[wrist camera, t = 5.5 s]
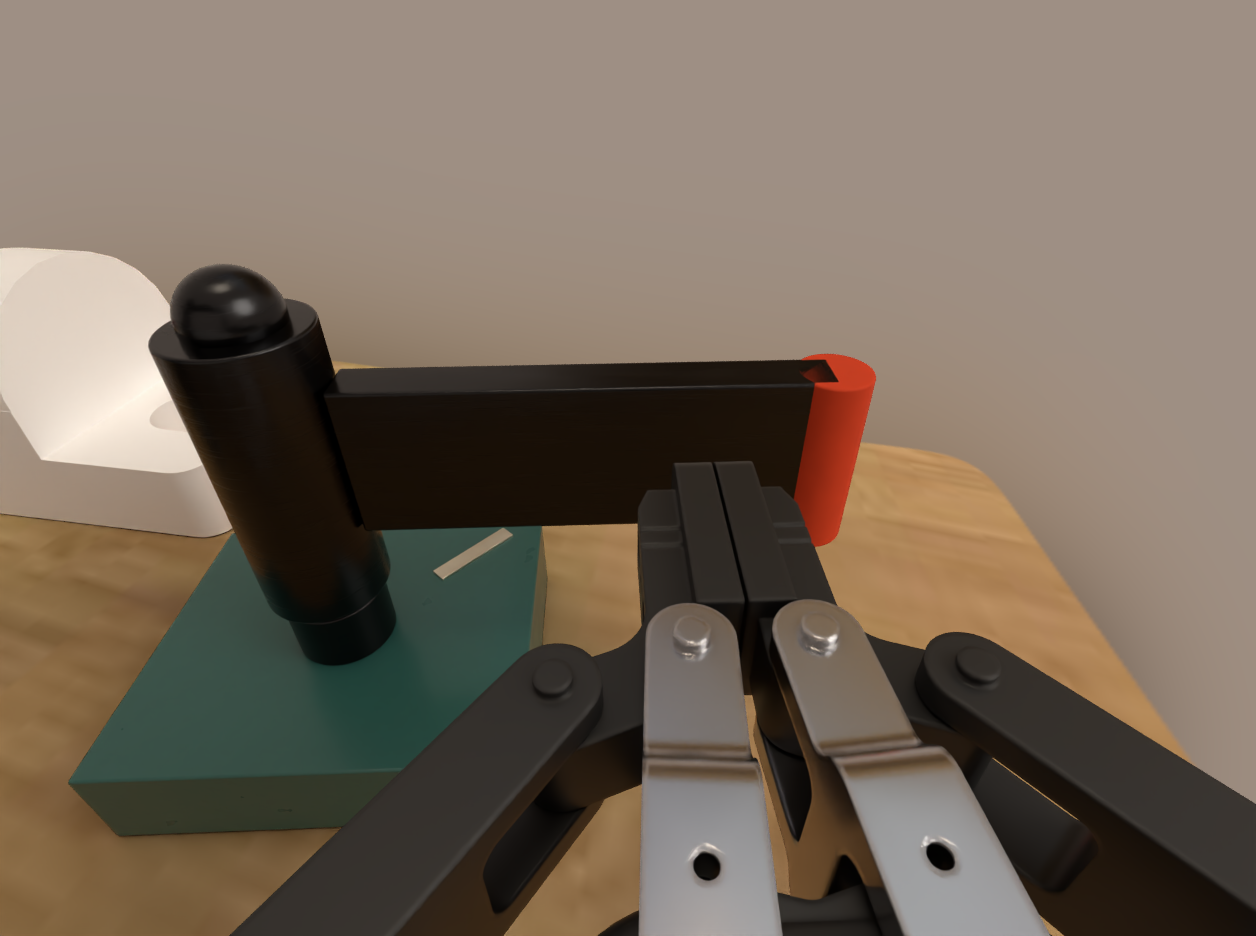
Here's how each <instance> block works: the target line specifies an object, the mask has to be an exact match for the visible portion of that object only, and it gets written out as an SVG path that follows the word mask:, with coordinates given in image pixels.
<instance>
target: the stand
mask: <svg viewBox="0 0 1256 936" xmlns="http://www.w3.org/2000/svg"><path fill="white" fill-rule="evenodd" d="M381 531H382V534H383V538H384V541H385V545H386V548H387V551H388V555H389V558H390V563H391V569H390V574H389V577H388V580H387V582H386V584H385V585H384V587H383V588H382V590H381V591H380V592H379V593H378V594H377V595H376V596H375V597H374V598H373V599H372V600H371V601H370V602H368V603H367V604H366V605H364V606H363V607H361V608H360V609H358V610H356V611H354V612H353V613H350V614H348V615H346V616H344V617H341V618H338V619H335V620H331V621H327V622H321V623H296V622H292V621H288V620H286V619H284V618H282V617H280V616H278V615H277V614H276V613H274V612H273V611H272V609H271V608H270V606H269V605H268V603H267V600H266V598H265V596H264V594H263V592H262V590H261V588H260V586H259V583H258V581H257V579H256V577H255V575H254V573H253V571H252V568H251V566H250V564H249V562H248V560H247V558H246V556H245V554H244V551H243V549H242V547H241V545H240V543H239V541H238V539H237V537H236V534H235V533H233V534H231V536H230V537H229V539H228V541H227V542H226V544H225V545H224V547H223V548H222V550H221V551H220V553H219V554H218V556H217V557H216V559H215V560H214V562H213V563H212V565H211V566H210V568H209V569H208V571H207V572H206V574H205V575H204V577H203V578H202V580H201V581H200V583H199V584H198V586H197V587H196V589H195V590H194V592H193V593H192V595H191V596H190V598H189V599H188V601H187V603H186V604H185V606H184V607H183V609H182V610H181V612H180V613H179V615H178V616H177V618H176V619H175V621H174V622H173V624H172V625H171V627H170V628H169V630H168V631H167V633H166V634H165V636H164V637H163V639H162V640H161V642H160V643H159V645H158V646H157V648H156V649H155V651H154V652H153V654H152V655H151V657H150V658H149V660H148V662H147V663H146V665H145V666H144V668H143V669H142V671H141V672H140V674H139V675H138V677H137V678H136V680H135V681H134V683H133V684H132V686H131V687H130V689H129V690H128V692H127V693H126V695H125V696H124V698H123V699H122V701H121V702H120V704H119V705H118V707H117V708H116V710H115V711H114V713H113V714H112V716H111V717H110V719H109V720H108V722H107V724H106V725H105V727H104V728H103V730H102V731H101V733H100V734H99V736H98V737H97V739H96V740H95V742H94V743H93V745H92V746H91V748H90V749H89V751H88V752H87V754H86V755H85V757H84V758H83V760H82V761H81V763H80V764H79V766H78V767H77V769H76V770H75V772H74V773H73V775H72V776H71V778H70V779H69V782H68V784H69V785H70V786H71V787H72V788H73V789H74V790H75V791H76V792H77V793H78V794H79V796H80V797H81V798H82V799H83V800H84V801H85V802H86V803H87V804H88V805H89V806H90V807H91V808H92V809H93V810H94V811H95V812H96V813H97V814H98V816H99V817H100V818H101V819H102V820H103V821H104V822H105V823H106V824H107V825H108V826H109V827H110V828H111V829H112V830H113V831H114V832H115V833H116V834H117V835H118V836H124V835H149V834H174V833H199V832H224V831H250V830H275V829H300V828H325V827H343V826H344V825H345V824H346V823H347V822H348V821H349V820H350V819H351V818H353V817H354V816H355V815H356V814H357V813H358V812H359V811H360V810H361V809H362V808H363V807H364V806H365V805H366V804H367V803H368V802H369V801H370V800H371V799H372V798H373V797H374V796H375V795H377V794H378V793H379V792H380V791H381V790H382V789H383V788H384V787H385V786H386V785H387V784H388V783H389V782H390V781H391V780H392V779H393V778H394V777H395V776H396V775H397V774H398V773H399V772H400V771H402V770H403V769H404V768H405V767H406V766H407V765H408V764H409V763H410V762H411V761H412V760H413V759H414V758H415V757H416V756H417V755H418V754H419V753H420V752H421V751H422V750H423V749H424V748H426V747H427V746H428V745H429V744H430V743H431V742H432V741H433V740H434V739H435V738H436V737H437V736H438V735H439V734H440V733H441V732H442V731H443V730H444V729H445V728H446V727H447V726H448V725H450V724H451V723H452V722H453V721H454V720H455V719H456V718H457V717H458V716H459V715H460V714H461V713H462V712H463V711H464V710H465V709H466V708H467V707H468V706H469V705H470V704H471V703H472V702H474V701H475V700H476V699H477V698H478V697H479V696H480V695H481V694H482V693H483V692H484V691H485V690H486V689H487V688H488V687H489V686H490V685H491V684H492V683H493V682H494V681H495V680H496V679H498V678H499V677H500V676H501V675H502V674H503V673H504V672H505V671H506V670H507V669H508V668H509V667H510V666H511V665H512V664H513V663H514V662H515V661H516V660H517V659H518V658H520V657H521V656H522V655H523V654H525V653H527V652H528V651H530V650H532V649H534V648H537V647H539V646H542V637H543V625H544V613H545V601H546V589H547V570H546V560H545V551H544V541H543V532H542V526H528V527H491V528H454V529H417V530H381Z"/></svg>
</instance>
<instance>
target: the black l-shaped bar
mask: <svg viewBox="0 0 1256 936" xmlns="http://www.w3.org/2000/svg"><path fill="white" fill-rule="evenodd" d="M170 319H171V321H169V322H167V323H165V324H164V325H162V326H161V327H160V328H158V329H157V330H156V331H155V332H154V333H153V334H152V335H151V337H150V339H149V343H148V348H149V351H150V354H151V356H152V358H153V360H154V362H155V364H156V366H157V368H158V371H159V373H160V375H161V377H162V379H163V381H164V383H165V385H166V388H167V390H168V392H169V394H170V396H171V398H172V400H173V403H174V405H175V407H176V409H177V411H178V413H179V415H180V417H181V420H182V422H183V424H184V426H185V428H186V430H187V432H188V434H189V437H190V439H191V441H192V443H193V445H194V447H195V449H196V451H197V454H198V456H199V458H200V460H201V462H202V464H203V466H204V468H205V471H206V473H207V475H208V477H209V479H210V481H211V483H212V485H213V488H214V490H215V492H216V494H217V496H218V498H219V500H220V503H221V505H222V507H223V509H224V511H225V513H226V515H227V517H228V520H229V522H230V524H231V526H232V528H233V530H234V532H235V534H236V537H237V539H238V541H239V543H240V545H241V547H242V549H243V551H244V554H245V556H246V558H247V560H248V562H249V564H250V566H251V568H252V571H253V573H254V575H255V577H256V579H257V581H258V583H259V586H260V588H261V590H262V592H263V594H264V596H265V598H266V600H267V603H268V605H269V606H270V608H271V609H272V611H273V612H274V613H276V614H277V615H278V616H280V617H282V618H284V619H286V620H288V621H292V622H296V623H321V622H327V621H331V620H335V619H338V618H341V617H344V616H346V615H348V614H350V613H353V612H354V611H356V610H358V609H360V608H361V607H363V606H364V605H366V604H367V603H368V602H370V601H371V600H372V599H373V598H374V597H375V596H376V595H377V594H378V593H379V592H380V591H381V590H382V588H383V587H384V585H385V584H386V582H387V580H388V577H389V574H390V569H391V563H390V558H389V555H388V551H387V548H386V545H385V541H384V538H383V534H382V531H381V530H417V529H454V528H491V527H528V526H565V525H602V524H638V507H639V505H640V503H641V501H642V499H643V497H644V496H645V494H646V492H647V490H669V489H671V483H672V466H673V463H699V462H711V463H712V464H713V462H732V461H752V462H753V464H754V467H755V470H756V473H757V476H758V479H759V483H760V486H761V487H775V486H780V487H781V488H782V489H783V490H784V491H785V492H786V493H788V494H789V495H790V496H791V497H792V498H793V499H794V500H795V501H796V502H797V503H798V505H799V508H800V511H801V513H802V516H803V518H804V521H805V527H807V529H808V531H809V534H810V537H811V542H812V543H813V545H814V547H817V546H822V545H825V544H828V543H830V542H831V541H832V540H834V539H835V537H836V536H837V534H838V532H839V528H840V524H841V520H842V515H843V511H844V507H845V503H846V499H847V495H848V491H849V487H850V483H851V479H852V475H853V471H854V467H855V463H856V459H857V455H858V450H859V446H860V442H861V438H862V434H863V430H864V426H865V422H866V418H867V414H868V410H869V406H870V402H871V398H872V393H873V390H874V385H875V381H876V376H875V372H874V371H873V369H872V368H870V366H868V365H867V364H865V363H864V362H862V361H859V360H857V359H854V358H851V357H847V356H842V355H836V354H817V355H811V356H808V357H806V358H803V359H802V360H768V361H767V360H765V361H717V362H716V361H715V362H669V363H668V362H664V363H617V364H616V363H614V364H569V365H568V364H567V365H566V364H564V365H519V366H518V365H514V366H466V367H415V368H363V369H340V370H339V371H338V373H337V374H336V375H335V372H334V368H333V365H332V362H331V358H330V355H329V352H328V348H327V345H326V341H325V338H324V335H323V331H322V328H321V324H320V321H319V318H318V315H317V312H316V311H315V310H314V309H313V308H312V307H311V306H309V305H308V304H305V303H303V302H300V301H296V300H291V299H284V298H283V297H282V295H281V294H280V292H279V291H278V290H277V288H276V287H275V286H274V285H273V284H272V283H271V282H270V281H268V280H267V279H266V278H265V277H263V276H262V275H260V274H258V273H257V272H254V271H252V270H250V269H248V268H245V267H241V266H237V265H232V264H215V265H209V266H205V267H202V268H199V269H197V270H195V271H193V272H192V273H190V274H189V275H187V276H186V277H185V278H184V279H183V280H182V281H181V282H180V283H179V285H178V286H177V287H176V289H175V291H174V293H173V296H172V299H171V303H170Z"/></svg>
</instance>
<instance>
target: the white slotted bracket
mask: <svg viewBox="0 0 1256 936" xmlns="http://www.w3.org/2000/svg"><path fill="white" fill-rule="evenodd" d="M169 321H171V319H170V305H169V304H168V303H167V301H166V300H165V299H164V297H163V296H162V294H161V293H160V292H159V290H158V289H157V287H156V286H155V285H154V284H153V283H152V282H151V281H149V280H148V279H147V278H146V277H145V276H144V275H143V274H141V273H140V272H139V271H138V270H137V269H135V268H133V267H132V266H130V265H128V264H126V263H124V262H122V261H120V260H118V259H116V258H114V257H111V256H106V255H102V254H97V253H93V252H88V251H71V250H54V249H35V248H3V249H0V513H1V514H10V515H18V516H26V517H35V518H43V519H51V520H60V521H68V522H76V523H85V524H93V525H101V526H110V527H118V528H126V529H135V530H143V531H151V532H160V533H168V534H176V535H184V536H193V537H211V536H215V535H219V534H222V533H224V532H227V531H229V530H230V529H232V526H231V524H230V522H229V520H228V517H227V515H226V513H225V511H224V509H223V507H222V505H221V503H220V500H219V498H218V496H217V494H216V492H215V490H214V488H213V485H212V483H211V481H210V479H209V477H208V475H207V473H206V471H205V468H204V466H203V464H202V462H201V460H200V458H199V456H198V454H197V451H196V449H195V447H194V445H193V443H192V441H191V439H190V437H189V434H188V432H187V430H186V428H185V426H184V424H183V422H182V420H181V417H180V415H179V413H178V411H177V409H176V407H175V405H174V403H173V400H172V398H171V396H170V394H169V392H168V390H167V388H166V385H165V383H164V381H163V379H162V377H161V375H160V373H159V371H158V368H157V366H156V364H155V362H154V360H153V358H152V356H151V354H150V351H149V348H148V343H149V339H150V337H151V335H152V334H153V333H154V332H155V331H156V330H157V329H158V328H160V327H161V326H162V325H164V324H165V323H167V322H169Z"/></svg>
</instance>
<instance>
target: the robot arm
mask: <svg viewBox="0 0 1256 936" xmlns="http://www.w3.org/2000/svg"><path fill="white" fill-rule="evenodd" d="M638 579H639V593H640V608H641V623H642V626H641V628H640V630H639V631H638V633H637V634H636V635H635V636H634V637H633V638H632V639H631V640H630V641H628V642H627V643H626V644H624V645H622V646H621V647H619V648H617V649H614V650H612V651H609V652H606V653H603V654H600V655H597V656H594V657H592V656H591V655H590V654H588V653H587V652H585V651H584V650H582V649H580V648H578V647H575V646H572V645H568V644H547V645H543V646H539V647H537V648H534V649H532V650H530V651H528V652H527V653H525V654H523V655H522V656H521V657H520V658H518V659H517V660H516V661H515V662H514V663H513V664H512V665H511V666H510V667H509V668H508V669H507V670H506V671H505V672H504V673H503V674H502V675H501V676H500V677H499V678H498V679H496V680H495V681H494V682H493V683H492V684H491V685H490V686H489V687H488V688H487V689H486V690H485V691H484V692H483V693H482V694H481V695H480V696H479V697H478V698H477V699H476V700H475V701H474V702H472V703H471V704H470V705H469V706H468V707H467V708H466V709H465V710H464V711H463V712H462V713H461V714H460V715H459V716H458V717H457V718H456V719H455V720H454V721H453V722H452V723H451V724H450V725H448V726H447V727H446V728H445V729H444V730H443V731H442V732H441V733H440V734H439V735H438V736H437V737H436V738H435V739H434V740H433V741H432V742H431V743H430V744H429V745H428V746H427V747H426V748H424V749H423V750H422V751H421V752H420V753H419V754H418V755H417V756H416V757H415V758H414V759H413V760H412V761H411V762H410V763H409V764H408V765H407V766H406V767H405V768H404V769H403V770H402V771H400V772H399V773H398V774H397V775H396V776H395V777H394V778H393V779H392V780H391V781H390V782H389V783H388V784H387V785H386V786H385V787H384V788H383V789H382V790H381V791H380V792H379V793H378V794H377V795H375V796H374V797H373V798H372V799H371V800H370V801H369V802H368V803H367V804H366V805H365V806H364V807H363V808H362V809H361V810H360V811H359V812H358V813H357V814H356V815H355V816H354V817H353V818H351V819H350V820H349V821H348V822H347V823H346V824H345V825H344V826H343V827H342V828H341V829H340V830H339V831H338V832H337V833H336V834H335V835H334V836H333V837H332V838H331V839H330V840H329V841H327V842H326V843H325V844H324V845H323V846H322V847H321V848H320V849H319V850H318V851H317V852H316V853H315V854H314V855H313V856H312V857H311V858H310V859H309V860H308V861H307V862H306V863H305V864H303V865H302V866H301V867H300V868H299V869H298V870H297V871H296V872H295V873H294V874H293V875H292V876H291V877H290V878H289V879H288V880H287V881H286V882H285V883H284V884H283V885H282V886H281V887H280V888H278V889H277V890H276V891H275V892H274V893H273V894H272V895H271V896H270V897H269V898H268V899H267V900H266V901H265V902H264V903H263V904H262V905H261V906H260V907H259V908H258V909H257V910H256V911H254V912H253V913H252V914H251V915H250V916H249V917H248V918H247V919H246V920H245V921H244V922H243V923H242V924H241V925H240V926H239V927H238V928H237V929H236V930H235V931H234V932H233V933H232V934H230V935H229V936H503V935H504V934H505V933H506V931H507V930H508V929H509V927H510V926H511V925H512V923H513V922H514V921H515V919H516V918H517V917H518V915H519V914H520V913H521V912H522V910H523V909H524V908H525V906H526V905H527V904H528V902H529V901H530V900H531V898H532V897H533V896H534V894H535V893H536V892H537V890H538V889H539V888H540V886H541V885H542V884H543V882H544V881H545V880H546V878H547V877H548V876H549V875H550V873H551V872H552V871H553V869H554V868H555V867H556V865H557V864H558V863H559V861H560V860H561V859H562V857H563V856H564V855H565V853H566V852H567V851H568V849H569V848H570V847H571V845H572V844H573V843H574V841H575V840H576V839H577V837H578V836H579V835H580V834H581V832H582V831H583V830H584V828H585V827H586V826H587V824H588V823H589V822H590V820H591V819H592V818H593V816H594V815H595V814H596V812H597V811H598V810H599V808H600V806H601V805H602V803H603V801H604V799H606V798H608V797H611V796H613V795H616V794H618V793H621V792H623V791H626V790H628V789H631V788H633V787H636V786H638V785H641V784H642V807H641V852H640V897H639V911H636V912H634V913H632V914H630V915H628V916H626V917H624V918H622V919H621V920H619V921H617V922H615V923H614V924H612V925H611V926H610V927H608V928H607V929H606V930H604V931H603V932H602V933H600V934H599V935H598V936H1052V935H1050V934H1049V932H1048V930H1047V928H1046V927H1045V925H1044V923H1043V921H1042V919H1041V917H1040V916H1042V917H1043V918H1044V919H1045V920H1046V921H1047V922H1049V923H1050V924H1051V925H1052V926H1053V927H1055V928H1056V929H1057V930H1058V931H1059V932H1061V933H1062V934H1063V935H1064V936H1256V804H1255V803H1253V802H1252V801H1250V800H1248V799H1247V798H1245V797H1244V796H1242V795H1240V794H1239V793H1237V792H1235V791H1234V790H1232V789H1231V788H1229V787H1227V786H1226V785H1224V784H1223V783H1221V782H1219V781H1218V780H1216V779H1214V778H1213V777H1211V776H1210V775H1208V774H1206V773H1205V772H1203V771H1201V770H1200V769H1198V768H1197V767H1195V766H1193V765H1192V764H1190V763H1189V762H1187V761H1185V760H1184V759H1182V758H1181V757H1179V756H1177V755H1176V754H1174V753H1172V752H1171V751H1169V750H1168V749H1166V748H1164V747H1163V746H1161V745H1159V744H1158V743H1156V742H1155V741H1153V740H1151V739H1150V738H1148V737H1147V736H1145V735H1143V734H1142V733H1140V732H1138V731H1137V730H1135V729H1134V728H1132V727H1130V726H1129V725H1127V724H1126V723H1124V722H1122V721H1121V720H1119V719H1117V718H1116V717H1114V716H1113V715H1111V714H1109V713H1108V712H1106V711H1105V710H1103V709H1101V708H1100V707H1098V706H1096V705H1095V704H1093V703H1092V702H1090V701H1088V700H1087V699H1085V698H1084V697H1082V696H1080V695H1079V694H1077V693H1075V692H1074V691H1072V690H1071V689H1069V688H1067V687H1066V686H1064V685H1062V684H1061V683H1059V682H1058V681H1056V680H1054V679H1053V678H1051V677H1050V676H1048V675H1046V674H1045V673H1043V672H1041V671H1040V670H1038V669H1037V668H1035V667H1033V666H1032V665H1030V664H1029V663H1027V662H1025V661H1024V660H1022V659H1020V658H1019V657H1017V656H1016V655H1014V654H1012V653H1011V652H1009V651H1008V650H1006V649H1004V648H1003V647H1001V646H999V645H998V644H996V643H994V642H992V641H990V640H988V639H986V638H983V637H981V636H978V635H974V634H970V633H964V632H950V633H945V634H941V635H939V636H937V637H935V638H934V639H932V640H931V641H930V642H929V644H928V645H927V647H926V650H923V649H919V648H915V647H910V646H906V645H902V644H897V643H893V642H889V641H885V640H882V639H879V638H876V637H874V636H871V635H869V634H867V633H865V632H864V631H863V629H862V627H861V626H860V624H859V623H858V622H857V620H856V619H855V618H854V617H853V616H852V615H851V614H849V613H848V612H847V611H845V610H844V609H842V608H840V607H838V606H837V604H836V602H835V599H834V597H833V594H832V591H831V589H830V586H829V584H828V581H827V578H826V576H825V573H824V571H823V568H822V565H821V563H820V560H819V558H818V555H817V552H816V550H815V547H814V545H813V543H812V542H811V537H810V534H809V531H808V529H807V527H805V521H804V518H803V516H802V513H801V511H800V508H799V505H798V503H797V502H796V501H795V500H794V499H793V498H792V497H791V496H790V495H789V494H788V493H786V492H785V491H784V490H783V489H782V488H781V487H780V486H775V487H761V486H760V483H759V479H758V476H757V473H756V470H755V467H754V464H753V462H752V461H732V462H713V464H712V463H711V462H699V463H673V466H672V483H671V489H669V490H647V492H646V494H645V496H644V497H643V499H642V501H641V503H640V505H639V507H638ZM744 695H752V696H753V700H754V705H755V709H756V718H755V724H754V740H755V744H756V747H757V751H758V754H759V758H760V761H761V765H762V768H763V772H764V775H765V779H766V782H767V785H768V789H769V792H770V796H771V799H772V803H773V806H774V810H775V813H776V817H777V820H778V824H779V827H780V830H781V834H782V837H783V841H784V844H785V848H786V853H787V859H788V868H789V887H790V894H791V896H790V895H786V894H782V893H778V892H777V888H776V880H775V872H774V865H773V857H772V849H771V841H770V834H769V826H768V818H767V810H766V803H765V795H764V787H763V780H762V774H761V769H760V765H759V762H758V760H757V759H756V758H753V757H752V754H751V749H750V741H749V733H748V724H747V716H746V708H745V699H744ZM992 758H995V759H996V760H997V761H999V762H1000V763H1002V764H1003V765H1004V766H1006V767H1007V768H1008V769H1010V770H1011V771H1013V772H1014V773H1015V774H1017V775H1018V776H1019V777H1021V778H1022V779H1024V780H1025V781H1026V782H1028V783H1029V784H1030V785H1032V786H1033V787H1034V788H1036V789H1037V790H1039V791H1040V792H1041V793H1043V794H1044V795H1045V796H1047V797H1048V798H1050V799H1051V800H1052V801H1054V802H1055V803H1056V804H1058V805H1059V806H1061V807H1062V808H1063V809H1065V810H1066V811H1067V812H1069V813H1070V814H1072V815H1073V816H1074V817H1076V818H1077V819H1078V820H1077V819H1075V818H1073V817H1072V816H1070V815H1069V814H1068V813H1066V812H1065V811H1063V810H1062V809H1061V808H1059V807H1058V806H1057V805H1055V804H1054V803H1052V802H1051V801H1050V800H1048V799H1047V798H1046V797H1044V796H1043V795H1042V794H1040V793H1039V792H1037V791H1036V790H1035V789H1033V788H1032V787H1031V786H1029V785H1028V784H1026V783H1025V782H1024V781H1022V780H1021V779H1020V778H1018V777H1017V776H1015V775H1014V774H1013V773H1011V772H1010V771H1009V770H1007V769H1006V768H1005V767H1003V766H1002V765H1000V764H999V763H998V762H996V761H995V760H994V759H992ZM1079 820H1080V821H1079ZM1039 915H1040V916H1039Z"/></svg>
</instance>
